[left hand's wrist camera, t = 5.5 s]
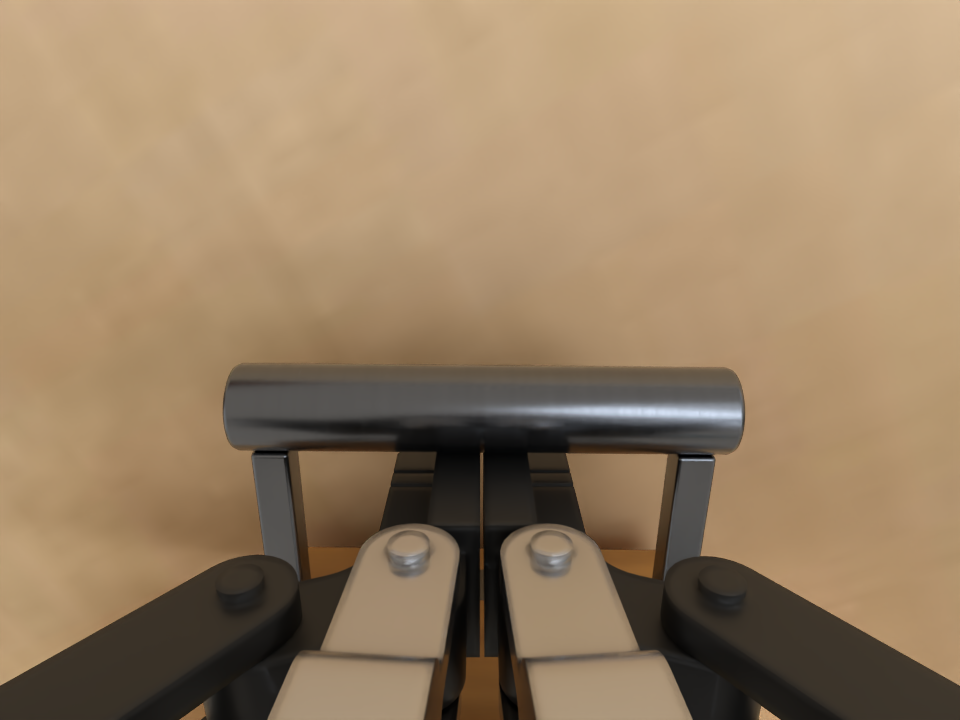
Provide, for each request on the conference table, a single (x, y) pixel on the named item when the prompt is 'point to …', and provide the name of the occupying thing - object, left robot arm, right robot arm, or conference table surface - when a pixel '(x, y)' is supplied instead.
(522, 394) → the drawer
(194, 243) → the conference table surface
